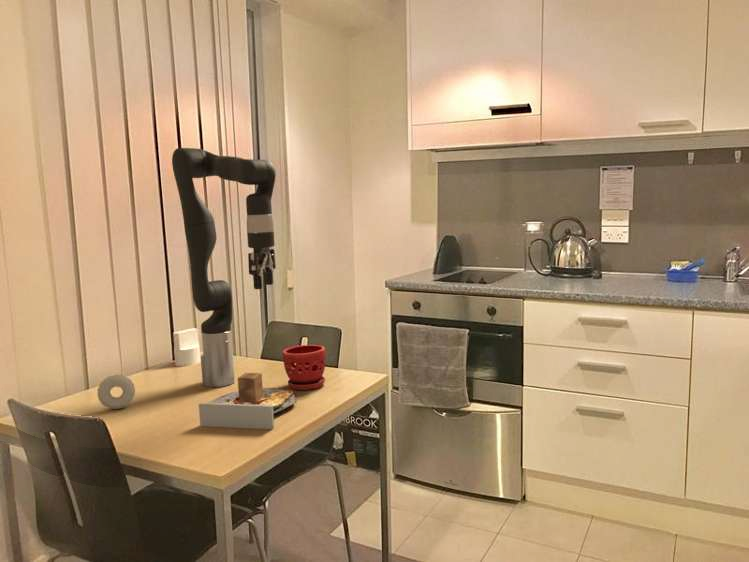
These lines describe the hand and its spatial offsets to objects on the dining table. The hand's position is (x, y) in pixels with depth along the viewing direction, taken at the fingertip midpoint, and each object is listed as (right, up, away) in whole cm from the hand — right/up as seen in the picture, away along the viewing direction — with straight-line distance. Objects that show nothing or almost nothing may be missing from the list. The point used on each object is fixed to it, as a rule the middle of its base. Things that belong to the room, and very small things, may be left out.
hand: (263, 286), depth 173 cm
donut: (-42, -35, -1) cm, 55 cm away
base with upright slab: (-37, -29, +48) cm, 67 cm away
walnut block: (-3, -32, -4) cm, 32 cm away
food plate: (-2, -35, -4) cm, 35 cm away
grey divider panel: (-4, -36, -18) cm, 41 cm away
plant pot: (+10, -31, +15) cm, 36 cm away
